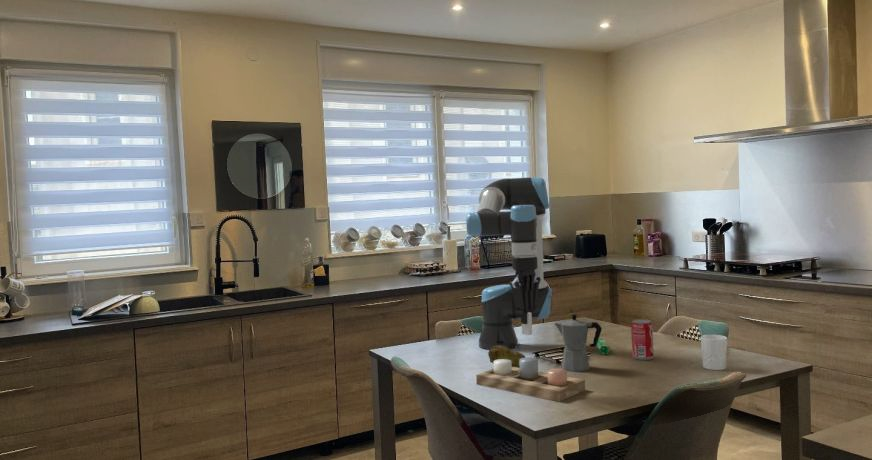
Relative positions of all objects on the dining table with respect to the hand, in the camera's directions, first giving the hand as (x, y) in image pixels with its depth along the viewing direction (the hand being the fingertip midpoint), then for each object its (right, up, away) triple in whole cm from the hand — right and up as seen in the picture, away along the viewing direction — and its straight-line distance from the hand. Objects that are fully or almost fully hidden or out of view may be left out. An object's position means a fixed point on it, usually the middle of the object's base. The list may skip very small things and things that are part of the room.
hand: (527, 334), depth 201 cm
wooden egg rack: (+1, -16, +1) cm, 16 cm away
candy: (+33, -13, +43) cm, 56 cm away
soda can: (+44, -13, +30) cm, 55 cm away
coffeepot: (+20, -15, +20) cm, 32 cm away
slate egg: (+1, -13, +1) cm, 13 cm away
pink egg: (+8, -15, -6) cm, 18 cm away
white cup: (+63, -13, +14) cm, 66 cm away
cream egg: (-7, -15, +8) cm, 18 cm away
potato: (-3, -16, +23) cm, 28 cm away
